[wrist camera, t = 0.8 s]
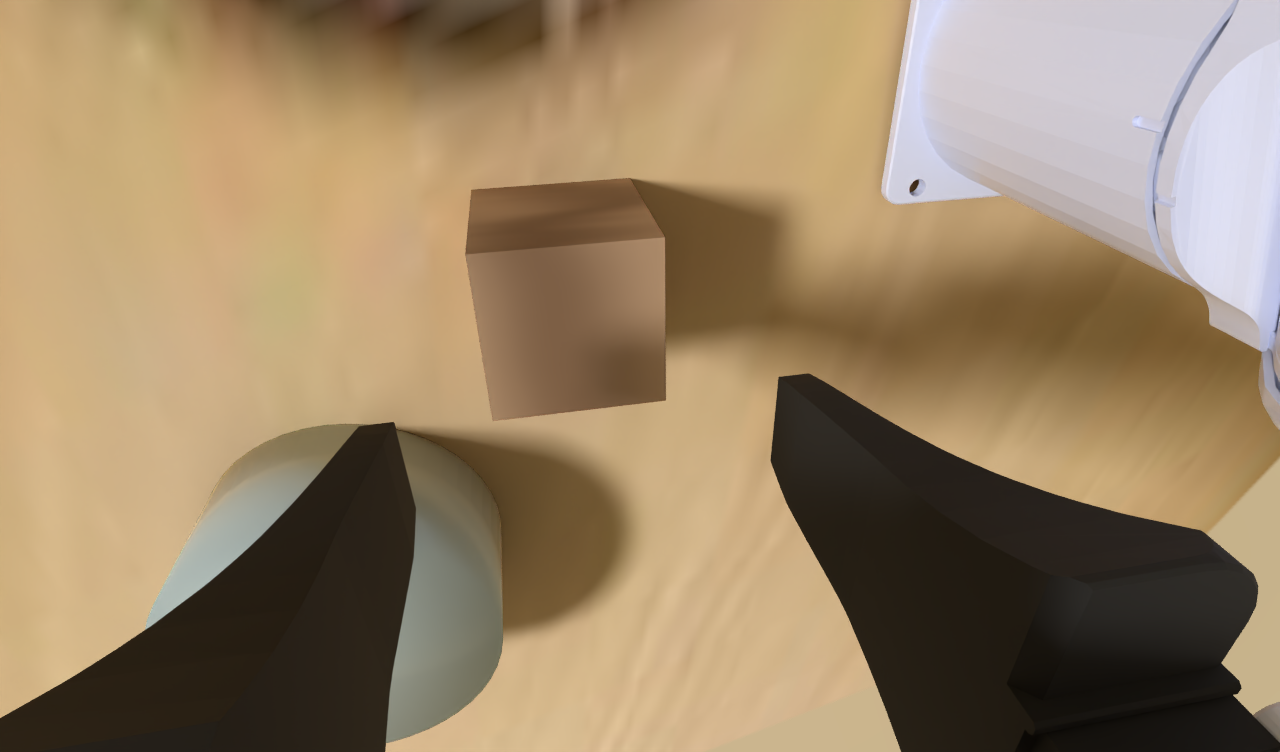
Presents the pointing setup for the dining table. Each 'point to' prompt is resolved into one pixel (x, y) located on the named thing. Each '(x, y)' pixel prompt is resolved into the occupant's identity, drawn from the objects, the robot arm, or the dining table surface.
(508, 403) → the walnut block
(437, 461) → the grey rounded dome
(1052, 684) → the robot arm
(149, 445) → the dining table surface
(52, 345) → the dining table surface
